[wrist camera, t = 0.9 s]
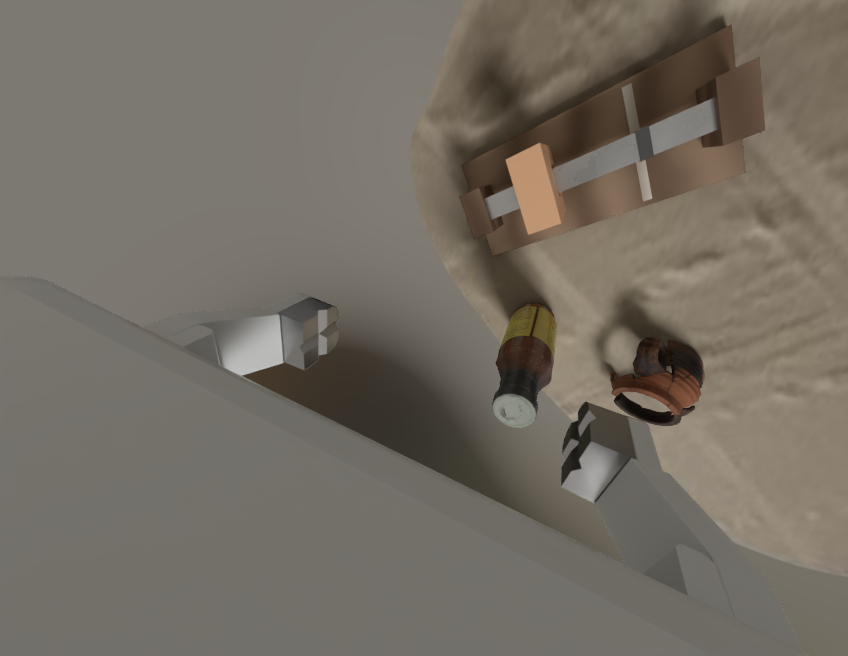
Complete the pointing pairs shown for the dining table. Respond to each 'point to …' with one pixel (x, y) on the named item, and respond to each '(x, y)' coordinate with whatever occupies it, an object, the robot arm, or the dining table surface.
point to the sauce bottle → (524, 364)
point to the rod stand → (629, 144)
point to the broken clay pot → (661, 381)
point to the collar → (536, 188)
